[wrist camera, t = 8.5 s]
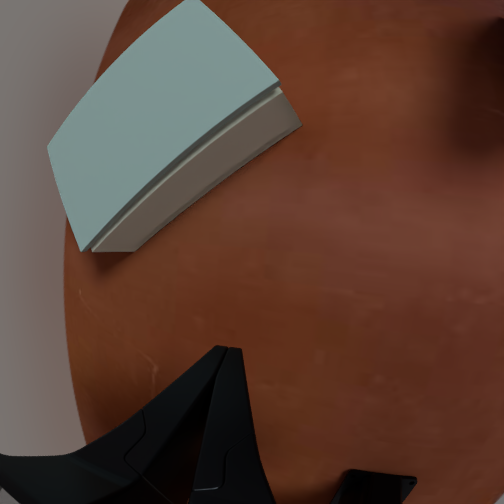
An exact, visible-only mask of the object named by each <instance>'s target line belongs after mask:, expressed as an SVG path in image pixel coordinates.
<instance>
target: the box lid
mask: <svg viewBox="0 0 504 504" xmlns="http://www.w3.org/2000/svg"><path fill="white" fill-rule="evenodd" d="M280 85H282V84H281V83H280V81H279V80H278V78H277V77H276V76H275V75H274V74H273V73H272V72H271V70H270V69H269V68H268V67H267V66H266V65H265V64H264V63H263V62H262V61H261V59H260V58H259V57H258V56H257V55H256V54H255V53H254V52H253V51H252V50H251V49H250V48H249V47H248V46H247V45H246V44H245V43H244V42H243V41H242V40H241V39H240V38H239V37H238V36H237V35H236V34H235V33H234V32H233V31H232V30H231V29H230V28H229V27H228V26H227V25H226V24H225V23H224V22H223V21H222V20H221V19H220V18H219V17H218V16H217V15H215V14H214V13H213V12H212V11H211V10H210V9H209V8H208V7H207V6H205V5H204V4H203V3H202V2H201V1H200V0H185V1H183V2H182V3H180V4H179V5H178V6H176V7H175V8H174V9H173V10H171V11H170V12H169V13H167V14H166V15H165V16H164V17H162V18H161V19H160V20H159V21H158V22H156V23H155V24H154V25H153V26H152V27H151V28H149V29H148V30H147V31H146V32H145V33H144V34H143V35H141V36H140V37H139V38H138V39H137V40H136V41H135V42H134V43H133V44H132V45H131V46H130V47H129V48H128V49H127V50H126V51H125V52H123V53H122V54H121V55H120V56H119V58H118V59H117V60H116V61H115V62H114V63H113V64H112V65H111V66H110V67H109V68H108V69H107V70H106V71H105V72H104V73H103V74H102V76H101V77H100V78H99V79H98V80H97V81H96V82H95V84H94V85H93V86H92V87H91V88H90V89H89V91H88V92H87V93H86V94H85V95H84V97H83V98H82V99H81V100H80V102H79V103H78V104H77V105H76V107H75V108H74V109H73V111H72V112H71V113H70V115H69V116H68V117H67V119H66V120H65V121H64V123H63V124H62V126H61V127H60V128H59V130H58V131H57V133H56V134H55V136H54V137H53V139H52V140H51V142H50V143H49V145H48V146H47V149H48V153H49V157H50V161H51V165H52V169H53V172H54V176H55V179H56V183H57V186H58V189H59V193H60V196H61V199H62V202H63V205H64V208H65V211H66V214H67V217H68V219H69V222H70V225H71V228H72V230H73V233H74V236H75V238H76V241H77V243H78V246H79V248H80V251H81V252H85V251H87V250H88V249H89V248H90V247H91V246H92V245H93V244H94V242H95V241H96V240H97V239H98V238H99V237H100V236H101V235H102V234H103V233H104V232H105V231H106V230H107V229H108V228H109V227H110V226H111V225H112V223H113V222H114V221H115V220H116V219H117V218H118V217H119V216H120V215H121V214H122V213H123V212H124V211H125V210H126V209H127V208H128V207H129V206H130V205H132V204H133V203H134V202H135V201H136V200H137V199H138V198H139V197H140V196H141V195H142V194H143V193H144V192H145V191H146V190H147V189H148V188H149V187H151V186H152V185H153V184H154V183H155V182H156V181H157V180H158V179H159V178H160V177H162V176H163V175H164V174H165V173H166V172H167V171H168V170H169V169H171V168H172V167H173V166H174V165H175V164H176V163H177V162H179V161H180V160H181V159H182V158H183V157H185V156H186V155H187V154H188V153H189V152H191V151H192V150H193V149H194V148H195V147H197V146H198V145H199V144H200V143H202V142H203V141H204V140H205V139H207V138H208V137H209V136H210V135H212V134H213V133H214V132H215V131H217V130H218V129H219V128H221V127H222V126H223V125H225V124H226V123H227V122H229V121H230V120H231V119H233V118H234V117H235V116H237V115H238V114H239V113H241V112H242V111H244V110H245V109H246V108H248V107H249V106H251V105H252V104H253V103H255V102H256V101H258V100H259V99H261V98H262V97H263V96H265V95H266V94H268V93H269V92H271V91H272V90H274V89H275V88H277V87H278V86H280Z"/></svg>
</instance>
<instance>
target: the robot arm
mask: <svg viewBox="0 0 504 504" xmlns="http://www.w3.org/2000/svg"><path fill="white" fill-rule="evenodd" d="M352 474H354V475H352ZM411 481H413V482H411ZM416 484H417V478H416V477H412V476H399V475H390V474H381V473H374V472H367V471H360V470H350V471H349V472H348V473H347V475H346V477H345V479H344V480H343V482H342V484H341V486H340V487H339V489H338V491H337V493H336V494H335V496H334V498H333V499H332V501H331V502H330V504H402V502H403V501H404V500H405V499H406V497H407V496H408V495H409V493H410V492H411V491H412V489H413V488H414V487H415V485H416ZM188 499H189V501H188ZM187 502H188V504H276V502H275V499H274V496H273V494H272V491H271V489H270V486H269V483H268V481H267V478H266V475H265V472H264V469H263V466H262V463H261V460H260V456H259V451H258V447H257V441H256V435H255V430H254V424H253V418H252V412H251V406H250V399H249V393H248V387H247V380H246V373H245V367H244V360H243V353H242V349H241V348H235V347H229V348H228V347H227V346H219V345H216V346H214V347H213V348H212V349H211V350H210V351H209V352H207V353H206V354H205V355H204V356H203V357H202V358H201V359H200V360H198V361H197V362H196V363H195V364H194V365H193V366H191V367H190V368H189V369H188V370H187V371H186V372H185V373H183V374H182V375H181V376H180V377H179V378H177V379H176V380H175V381H174V382H173V383H172V384H170V385H169V386H168V387H167V388H166V389H164V390H163V391H162V392H161V393H160V394H158V395H157V396H156V397H155V398H154V399H152V400H151V401H150V402H149V403H148V404H146V405H145V406H144V407H143V409H140V410H139V411H138V412H136V413H135V414H134V415H133V416H131V417H130V418H129V419H127V420H126V421H125V422H123V423H122V424H121V425H119V426H118V427H116V428H114V429H113V430H111V431H110V432H108V433H107V434H105V435H103V436H102V437H100V438H98V439H97V440H95V441H93V442H91V443H90V444H88V445H86V446H84V447H83V448H81V449H79V450H77V451H75V452H72V453H70V454H66V455H57V456H8V455H3V454H0V504H187Z"/></svg>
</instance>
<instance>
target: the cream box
mask: <svg viewBox="0 0 504 504" xmlns="http://www.w3.org/2000/svg"><path fill="white" fill-rule="evenodd" d="M300 126H302V123H301V122H300V120H299V118H298V116H297V115H296V113H295V111H294V110H293V108H292V106H291V105H290V103H289V102H288V100H287V98H286V97H285V95H284V93H283V92H282V91H281V90H280V88H279V87H277V88H275V89H274V90H272V91H271V92H269V93H268V94H266V95H265V96H263V97H262V98H261V99H259V100H258V101H256V102H255V103H253V104H252V105H251V106H249V107H248V108H246V109H245V110H244V111H242V112H241V113H239V114H238V115H237V116H235V117H234V118H233V119H231V120H230V121H229V122H227V123H226V124H225V125H223V126H222V127H221V128H219V129H218V130H217V131H215V132H214V133H213V134H212V135H210V136H209V137H208V138H207V139H205V140H204V141H203V142H202V143H200V144H199V145H198V146H197V147H195V148H194V149H193V150H192V151H191V152H189V153H188V154H187V155H186V156H185V157H183V158H182V159H181V160H180V161H179V162H177V163H176V164H175V165H174V166H173V167H172V168H171V169H169V170H168V171H167V172H166V173H165V174H164V175H163V176H162V177H160V178H159V179H158V180H157V181H156V182H155V183H154V184H153V185H152V186H151V187H149V188H148V189H147V190H146V191H145V192H144V193H143V194H142V195H141V196H140V197H139V198H138V199H137V200H136V201H135V202H134V203H133V204H132V205H130V206H129V207H128V208H127V209H126V210H125V211H124V212H123V213H122V214H121V215H120V216H119V217H118V218H117V219H116V220H115V221H114V222H113V223H112V225H111V226H110V227H109V228H108V229H107V230H106V231H105V232H104V233H103V234H102V235H101V236H100V237H99V238H98V239H97V240H96V241H95V242H94V244H93V245H92V246H91V249H92V252H135V251H136V250H137V249H138V248H139V247H141V246H142V245H143V244H144V243H145V242H146V241H148V240H149V239H150V238H151V237H152V236H154V235H155V234H156V233H157V232H158V231H159V230H161V229H162V228H163V227H164V226H166V225H167V224H168V223H169V222H170V221H172V220H173V219H174V218H175V217H177V216H178V215H179V214H180V213H182V212H183V211H184V210H185V209H187V208H188V207H189V206H190V205H192V204H193V203H194V202H196V201H197V200H198V199H199V198H201V197H202V196H203V195H205V194H206V193H207V192H208V191H210V190H211V189H212V188H214V187H215V186H216V185H218V184H219V183H220V182H222V181H223V180H224V179H226V178H227V177H228V176H230V175H231V174H232V173H234V172H235V171H237V170H238V169H239V168H241V167H242V166H243V165H245V164H246V163H248V162H249V161H250V160H252V159H253V158H255V157H256V156H258V155H259V154H260V153H262V152H263V151H265V150H266V149H268V148H269V147H270V146H272V145H273V144H275V143H276V142H278V141H279V140H281V139H282V138H284V137H285V136H287V135H288V134H290V133H291V132H293V131H294V130H296V129H297V128H299V127H300Z"/></svg>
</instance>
